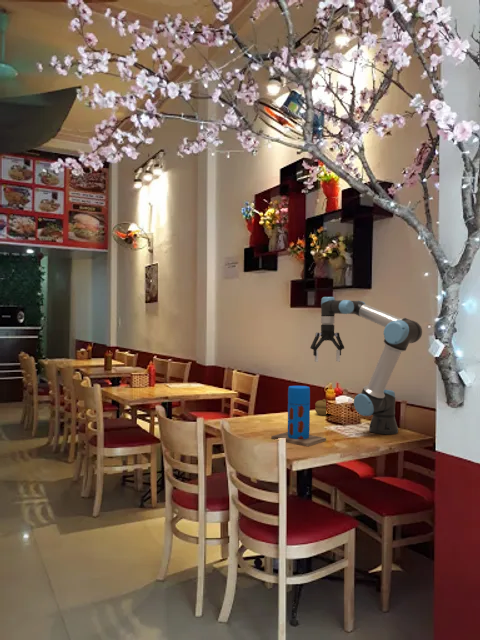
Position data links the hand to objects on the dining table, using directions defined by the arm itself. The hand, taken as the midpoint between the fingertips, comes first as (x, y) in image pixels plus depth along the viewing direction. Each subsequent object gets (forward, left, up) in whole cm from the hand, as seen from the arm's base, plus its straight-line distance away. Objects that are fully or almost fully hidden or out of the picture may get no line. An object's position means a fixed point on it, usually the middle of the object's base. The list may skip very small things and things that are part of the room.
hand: (327, 361), depth 296 cm
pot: (+20, -28, -37) cm, 50 cm away
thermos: (-9, +39, -35) cm, 53 cm away
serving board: (-9, +39, -37) cm, 54 cm away
